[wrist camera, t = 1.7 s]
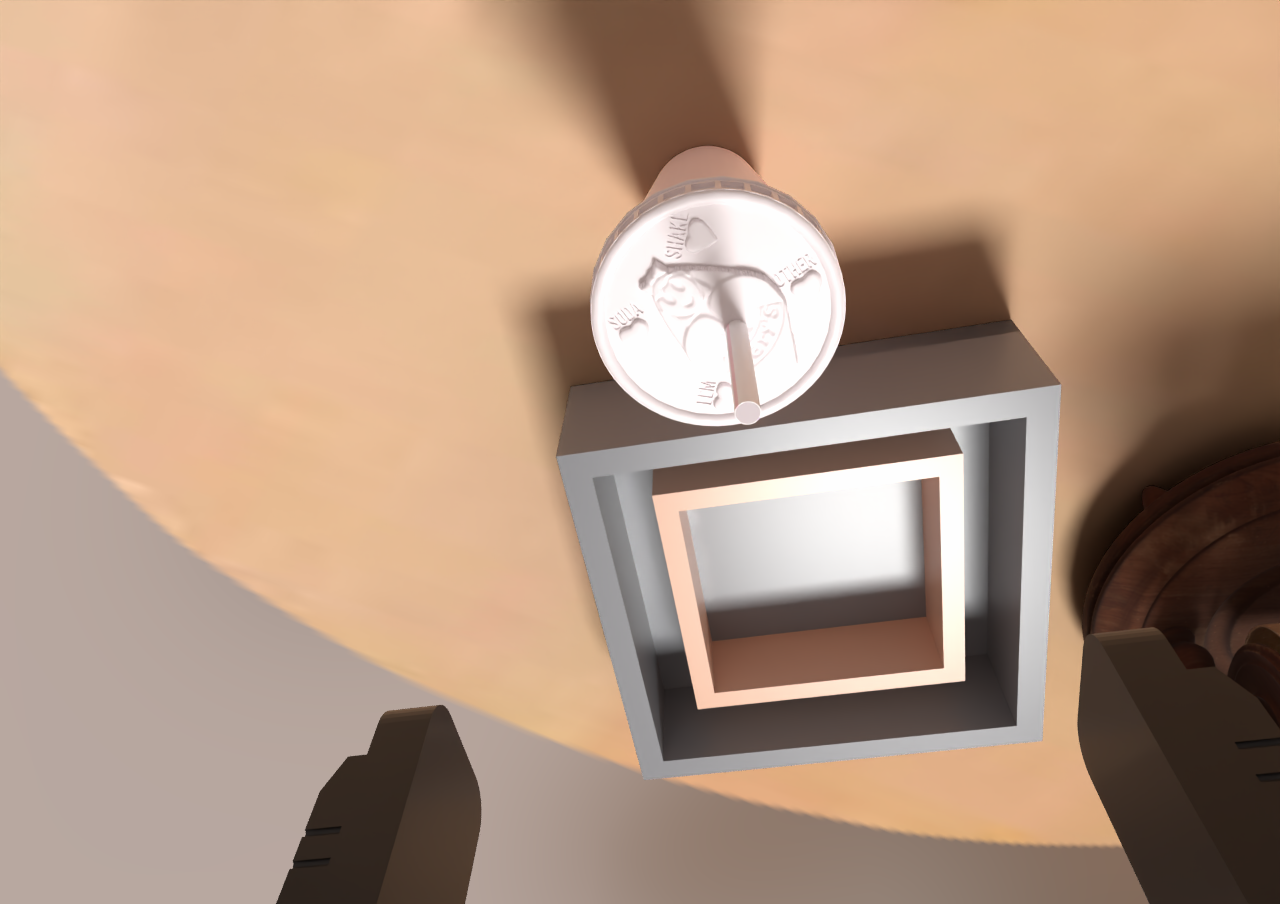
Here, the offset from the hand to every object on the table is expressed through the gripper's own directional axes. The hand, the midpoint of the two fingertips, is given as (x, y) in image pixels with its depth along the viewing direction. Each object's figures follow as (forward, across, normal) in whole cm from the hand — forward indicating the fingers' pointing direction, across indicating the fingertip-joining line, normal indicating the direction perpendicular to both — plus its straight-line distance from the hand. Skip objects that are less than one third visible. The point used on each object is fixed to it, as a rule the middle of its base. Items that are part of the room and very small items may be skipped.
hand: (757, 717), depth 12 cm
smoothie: (+23, 0, 0) cm, 23 cm away
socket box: (+23, -2, +14) cm, 27 cm away
